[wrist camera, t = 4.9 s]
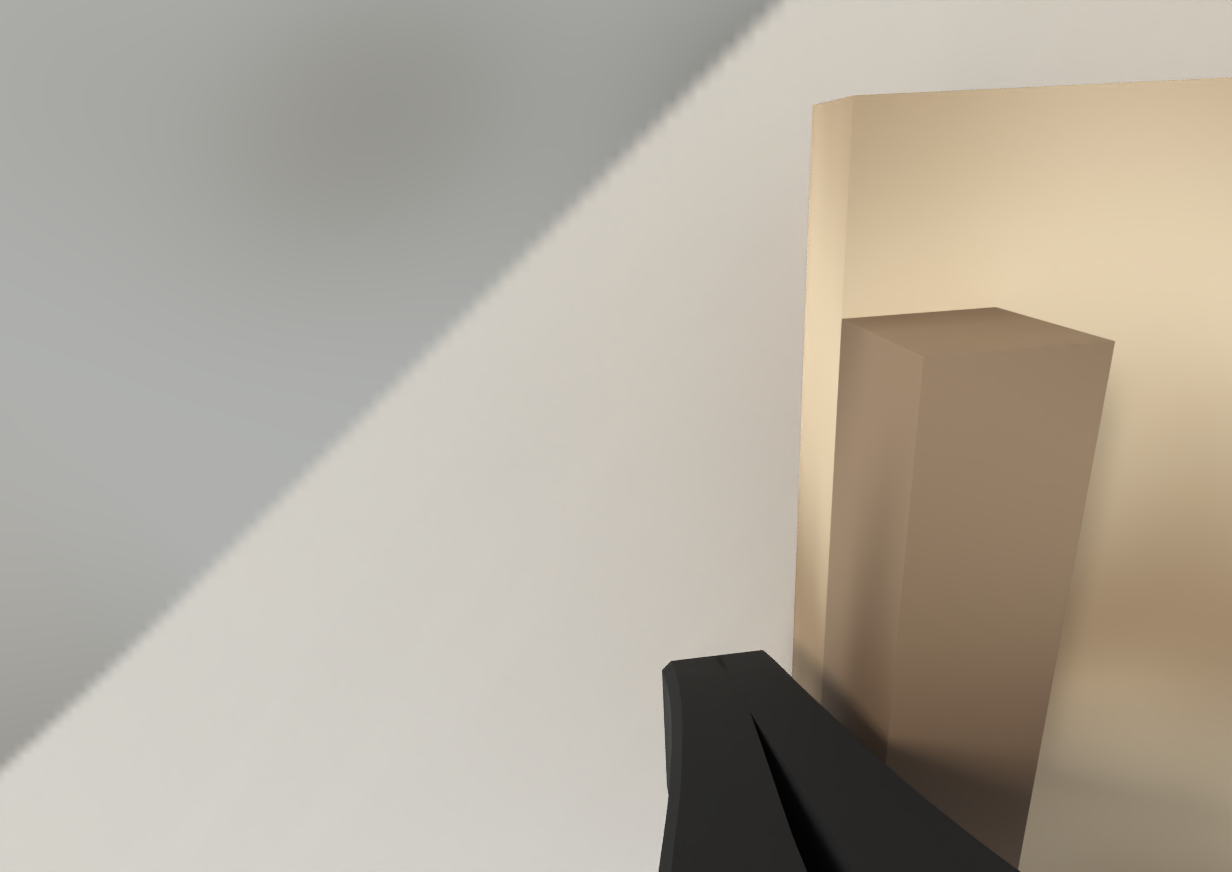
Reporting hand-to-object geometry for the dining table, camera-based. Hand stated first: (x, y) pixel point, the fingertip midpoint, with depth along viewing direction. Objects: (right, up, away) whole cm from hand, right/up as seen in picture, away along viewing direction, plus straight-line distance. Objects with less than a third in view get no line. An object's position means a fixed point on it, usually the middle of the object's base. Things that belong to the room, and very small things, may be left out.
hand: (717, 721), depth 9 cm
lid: (+7, +1, +1) cm, 7 cm away
